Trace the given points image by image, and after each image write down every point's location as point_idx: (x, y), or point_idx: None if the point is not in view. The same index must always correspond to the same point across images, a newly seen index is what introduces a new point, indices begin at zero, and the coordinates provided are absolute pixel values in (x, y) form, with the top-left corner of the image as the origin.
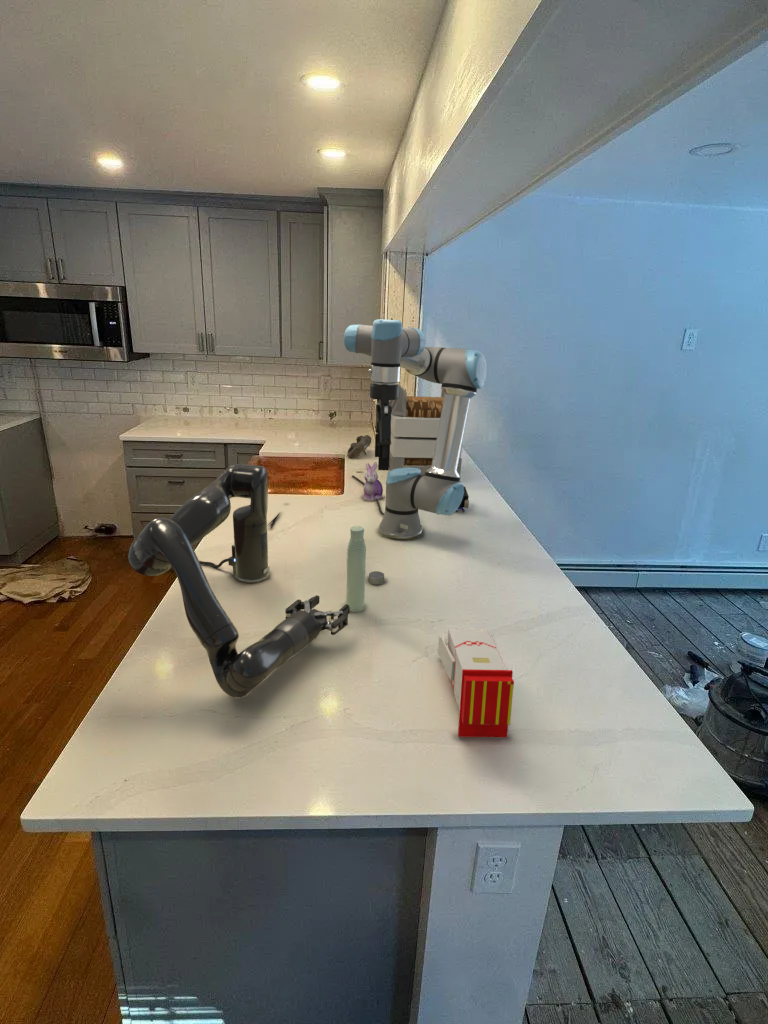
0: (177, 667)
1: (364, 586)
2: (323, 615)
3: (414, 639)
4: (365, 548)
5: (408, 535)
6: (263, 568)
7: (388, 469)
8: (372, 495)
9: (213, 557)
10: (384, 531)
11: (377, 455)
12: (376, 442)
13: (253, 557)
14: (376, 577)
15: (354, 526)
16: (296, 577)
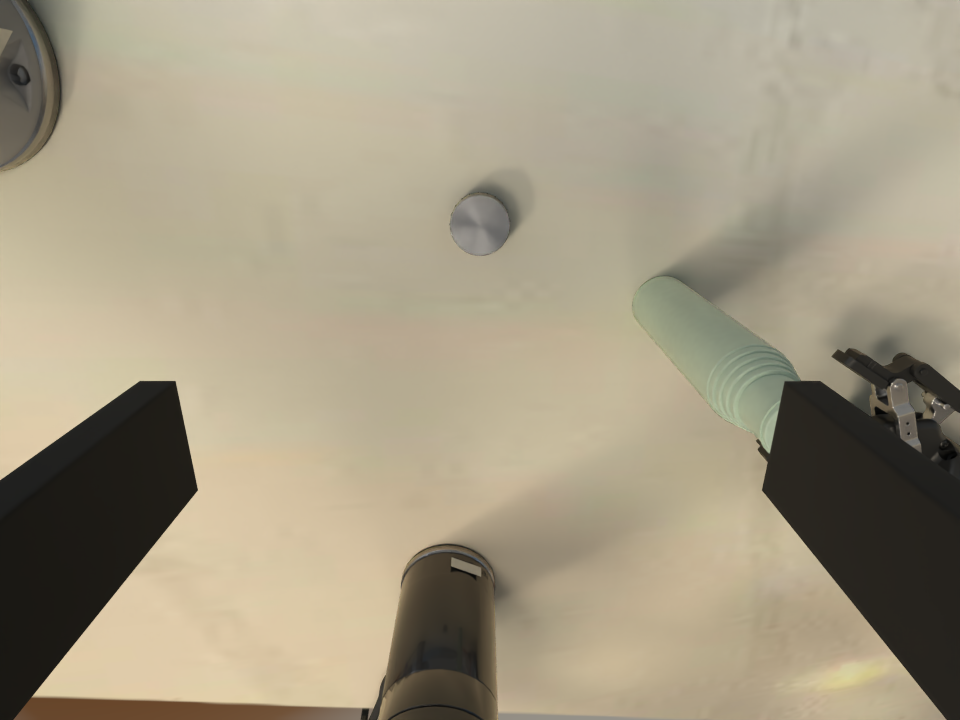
0: (857, 655)
1: (701, 297)
2: (916, 435)
3: (887, 126)
4: (772, 350)
5: (29, 29)
6: (475, 579)
7: (825, 390)
8: None
9: (333, 678)
10: (16, 153)
11: (182, 472)
12: (74, 621)
13: (494, 635)
14: (503, 227)
15: (769, 443)
16: (453, 473)
